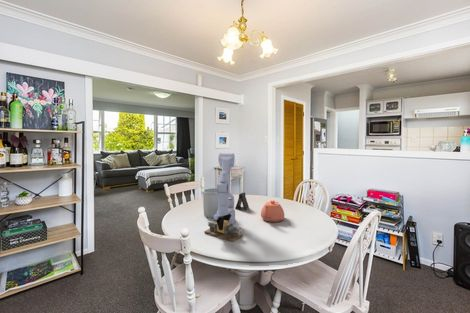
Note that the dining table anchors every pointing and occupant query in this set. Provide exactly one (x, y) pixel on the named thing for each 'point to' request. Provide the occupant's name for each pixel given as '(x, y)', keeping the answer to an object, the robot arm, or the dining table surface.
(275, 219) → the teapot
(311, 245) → the dining table surface
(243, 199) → the black a-shaped stand
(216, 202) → the utensil holder
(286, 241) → the dining table surface
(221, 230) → the coupler block
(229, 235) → the shaft stand
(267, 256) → the dining table surface
